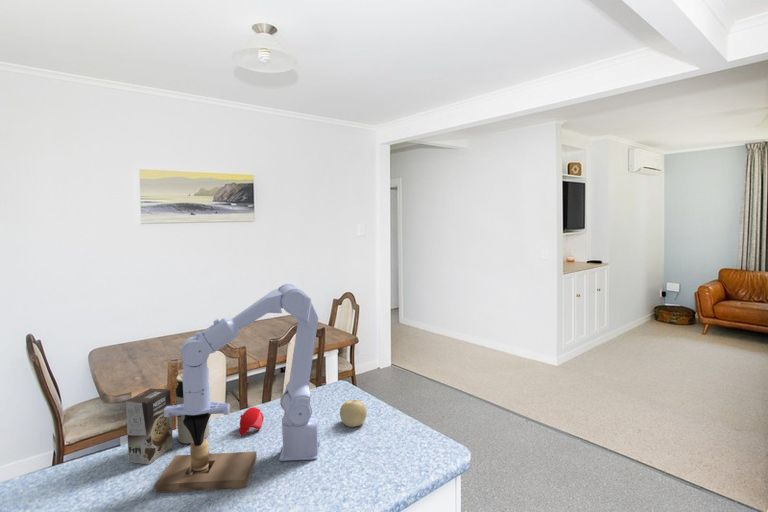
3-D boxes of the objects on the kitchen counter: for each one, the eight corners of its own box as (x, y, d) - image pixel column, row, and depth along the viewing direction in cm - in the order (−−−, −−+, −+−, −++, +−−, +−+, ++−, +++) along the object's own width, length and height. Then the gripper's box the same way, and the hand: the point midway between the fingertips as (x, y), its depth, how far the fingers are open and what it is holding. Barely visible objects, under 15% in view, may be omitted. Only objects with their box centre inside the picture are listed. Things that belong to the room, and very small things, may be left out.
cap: (252, 410, 133) (237, 406, 128) (266, 407, 130) (251, 403, 126) (248, 438, 128) (232, 435, 124) (263, 436, 126) (247, 432, 121)
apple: (354, 432, 125) (341, 408, 125) (344, 432, 131) (331, 409, 132) (375, 416, 129) (362, 393, 130) (364, 417, 136) (351, 395, 136)
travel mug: (208, 428, 128) (205, 368, 127) (210, 440, 121) (207, 377, 120) (178, 434, 125) (175, 373, 123) (178, 447, 118) (175, 382, 116)
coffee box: (150, 465, 109) (146, 402, 108) (127, 462, 111) (124, 400, 109) (174, 446, 118) (171, 388, 117) (153, 444, 120) (150, 387, 118)
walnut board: (256, 458, 112) (256, 451, 112) (245, 487, 100) (245, 479, 100) (175, 463, 110) (175, 455, 110) (155, 492, 98) (154, 484, 98)
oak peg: (212, 469, 107) (210, 438, 106) (206, 479, 103) (204, 447, 102) (195, 470, 107) (194, 439, 106) (189, 480, 103) (187, 447, 102)
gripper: (232, 380, 108) (234, 433, 109) (171, 383, 106) (174, 436, 108) (224, 392, 101) (226, 448, 102) (158, 394, 99) (162, 451, 101)
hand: (199, 443), depth 104 cm, fingers closed, pressing on oak peg
